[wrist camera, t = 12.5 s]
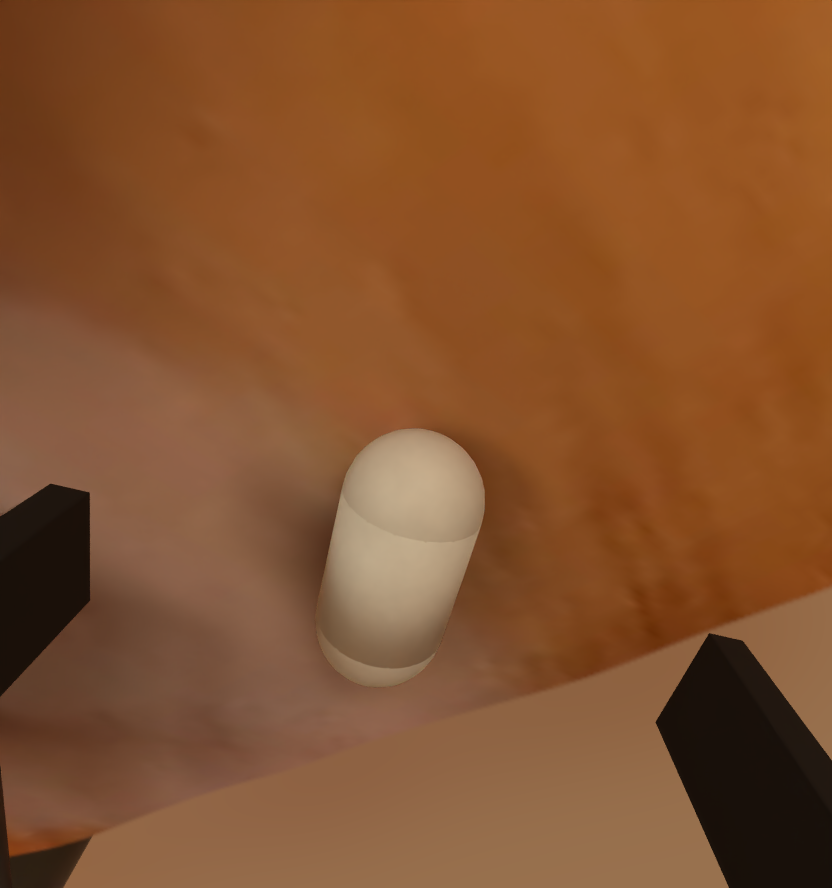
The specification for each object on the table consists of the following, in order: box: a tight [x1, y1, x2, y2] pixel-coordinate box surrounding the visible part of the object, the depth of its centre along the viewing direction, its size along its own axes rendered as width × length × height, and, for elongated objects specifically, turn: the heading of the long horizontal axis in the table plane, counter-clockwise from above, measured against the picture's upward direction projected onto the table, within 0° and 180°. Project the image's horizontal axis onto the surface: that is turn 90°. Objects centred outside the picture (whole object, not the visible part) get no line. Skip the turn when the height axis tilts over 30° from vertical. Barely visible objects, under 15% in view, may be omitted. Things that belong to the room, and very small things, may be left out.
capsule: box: [315, 428, 485, 688], centre depth 13 cm, size 7×3×3 cm, turn 166°
